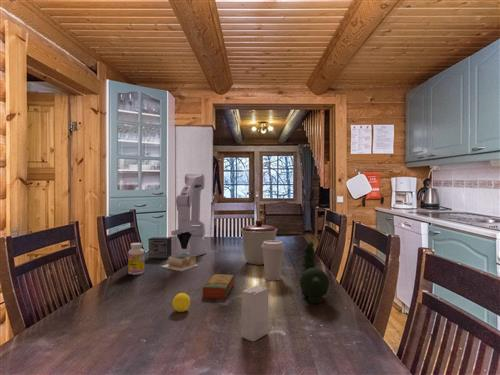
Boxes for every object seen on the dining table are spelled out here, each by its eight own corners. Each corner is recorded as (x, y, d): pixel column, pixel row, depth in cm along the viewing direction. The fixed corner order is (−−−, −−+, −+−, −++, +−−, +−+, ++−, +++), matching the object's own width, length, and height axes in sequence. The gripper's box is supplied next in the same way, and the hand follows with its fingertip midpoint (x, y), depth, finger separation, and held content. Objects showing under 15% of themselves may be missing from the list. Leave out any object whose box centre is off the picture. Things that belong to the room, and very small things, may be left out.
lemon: (190, 315, 100) (189, 299, 99) (171, 316, 99) (171, 299, 98) (191, 304, 107) (190, 288, 106) (173, 305, 106) (173, 289, 105)
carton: (233, 285, 128) (234, 274, 128) (226, 300, 113) (226, 287, 112) (212, 284, 129) (212, 273, 129) (202, 299, 114) (202, 286, 113)
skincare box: (255, 329, 89) (255, 284, 89) (269, 334, 86) (269, 287, 86) (240, 337, 85) (240, 290, 84) (254, 343, 82) (254, 294, 81)
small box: (172, 256, 177) (172, 236, 177) (167, 259, 170) (167, 239, 170) (153, 256, 178) (152, 236, 178) (148, 259, 172) (147, 238, 171)
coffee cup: (287, 276, 139) (287, 241, 138) (280, 283, 130) (280, 245, 130) (266, 274, 143) (266, 239, 142) (257, 280, 134) (257, 243, 134)
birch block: (183, 253, 163) (168, 256, 155) (196, 254, 159) (181, 258, 151) (183, 261, 163) (168, 265, 155) (196, 263, 159) (181, 268, 151)
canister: (234, 265, 158) (234, 221, 158) (248, 257, 175) (248, 217, 175) (270, 268, 152) (270, 222, 151) (282, 260, 168) (282, 218, 168)
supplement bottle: (124, 273, 143) (124, 244, 143) (136, 270, 149) (136, 241, 149) (136, 275, 140) (135, 245, 140) (147, 272, 146) (147, 243, 146)
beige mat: (178, 262, 164) (178, 261, 164) (198, 266, 157) (198, 264, 157) (160, 267, 154) (160, 266, 154) (181, 271, 147) (181, 270, 147)
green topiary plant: (296, 290, 127) (302, 309, 102) (296, 240, 128) (301, 246, 103) (321, 290, 126) (333, 309, 101) (320, 240, 128) (332, 247, 103)
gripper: (179, 222, 149) (179, 252, 150) (200, 219, 162) (200, 247, 162) (168, 221, 153) (168, 250, 154) (189, 218, 165) (190, 245, 166)
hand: (184, 248), depth 158 cm, fingers closed
